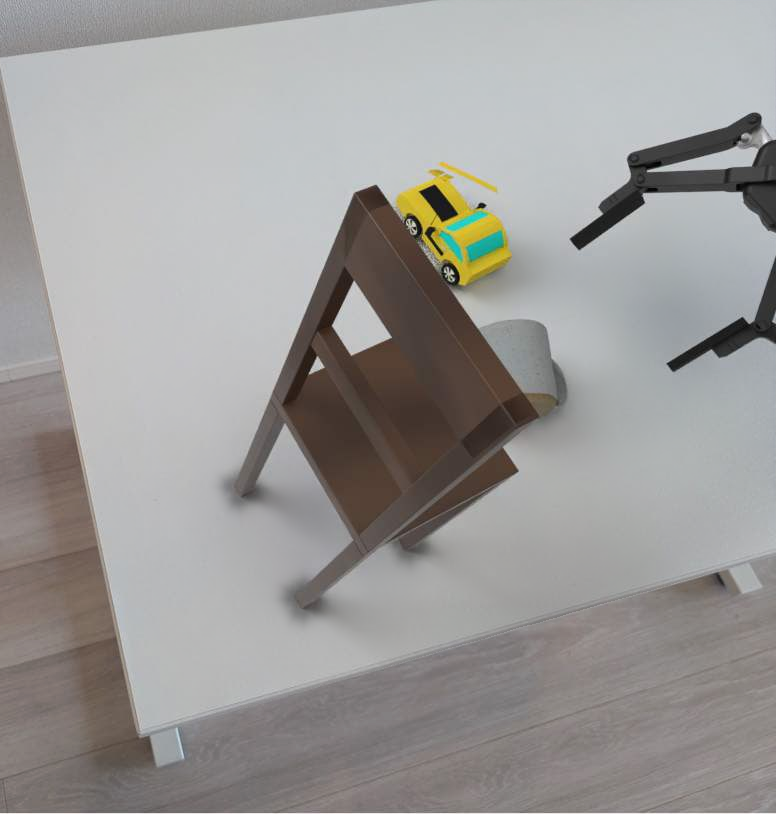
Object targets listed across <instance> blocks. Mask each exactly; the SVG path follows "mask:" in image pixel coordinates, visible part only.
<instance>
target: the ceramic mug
mask: <svg viewBox="0 0 776 814" xmlns="http://www.w3.org/2000/svg"><path fill="white" fill-rule="evenodd" d="M478 329H479V331H480V332H481V334H482V335H483V336H484V338H485V339H486V341H487V342H488V344H489V345H490V346H491V348H492V349H493V351H494V352H495V353H496V355H497V356H498V358H499V359H500V361H501V362H502V363H503V365H504V366H505V368H506V369H507V371H508V372H509V373H510V375H511V376H512V378H513V379H514V380H515V382H516V383H517V385H518V386H519V388H520V389H521V390H522V392H523V393H524V394H525V396H526V397H527V399H528V400H529V401H530V403H531V404H532V406H533V407H534V409H535V410H536V411H537V413H538V414H539V418H538V419H537V420H540V419H542V418H545V417H546V416H548V415H549V414H551V413H553V412H556V411H559V410H560V409H563V408H564V407H565V405H566V404H567V401H568V396H569V394H568V393H569V391H568V384H567V379H566V377H565V375H564V373H563V371H562V368H561V367H560V366H559V364H558V363H557V362H556V361H555V360H554V359H553V358H552V351H551V345H550V339H549V333H548V329H547V327H546V326H545V325H544V324H543V323H542V322H539V321H537V320H533V319H526V318H525V319H524V318H515V319H505V320H499V321H494V322H491V323H488V324H486V325H483V326H481V327H478Z"/></svg>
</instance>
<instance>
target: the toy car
mask: <svg viewBox="0 0 776 814" xmlns="http://www.w3.org/2000/svg"><path fill="white" fill-rule="evenodd" d="M437 165H438V166H440V167H442V168H445V169H447V170H448V171H450V172H452V173H455V174H457V175H460V176H462V177H463V178H465V179H467V180H470V181H472V182H474V183H476V184H477V185H480V186H482V187H484V188H486V189H488V190H490V191H491V192H494V193H496V194H499V191H498V187H497V186H494V185H492V184H490V183H488V182H486V181H484V180H483V179H480V178H478V177H476V176H474V175H472V174H470V173H467V172H465V171H463V170H461V169H459V168H456V167H455V166H453V165H451V164H448V163H446V162H444V161H441V162H438V163H437ZM426 173H429V174H430V175H432V176H434V177H435V178H432V179H430V180H427V181H425V182H423V183H421V184H419V185H416V186H414V187H412V188H409V189H407V190H405V191H402V192H401V193H398V195H397V197H396V199H395V203H396V207H397V208H398V210H399V211H400V212H401V214H402V215H403V216H404V217H405V218H404V221H403V223H404V224H405V226H406V227H407V229H408V230H409V231H410V233H411V234H412V236H413V237H414V238H415V239H416V238H419V237H420V236H421V235H422V236H421V239H422V240H423V242H424V243H425V244H426V245H427V247H428V248H429V250H430V251H431V252H432V253H433V254H434V256H435V257H436V258H437V259H438V261H439V262H440V263H441V264H442V263H444V262H445V263H444V264H442V265H441V271H440V272H441V277H442V278H443V280H444V281H445V283H446V284H447V285H448V286H449V285H450V286H456V285H460V286H467V285H468V284H471V283H473V282H474V281H477V280H478V279H481V278H482V277H485V276H486V275H488V274H491V273H492V272H494V271H496V270H498V269H500V268H502V267H504V266H506V265H507V264H508V262H509V261H510V260H511V259H512V258H513V255H512V252H511V250H510V247H509V241H508V235H507V232H506V230H505V227H504V225H503V222H502V220H501V219H499V217H498V216H497V215H494V213H492V212H491V211H488V210H486V209H485V208H486V207H487V204H486V203H484V202H479V203H478V204H477V206H476V207H475V208H474V209H472V208H470V206H469V204H468V203H467V201H466V200H465V199H464V197H463V196H462V195H461V194H460V192H459V191H458V189H456V187H455V186H454V185H453V183H451V182H450V180H452V179H454V178H455V176H453V175H450V174H447V173H446V172H445V171H443V170H440V169H430V170H428V171H426ZM447 261H448V262H447Z"/></svg>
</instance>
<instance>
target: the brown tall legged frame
mask: <svg viewBox="0 0 776 814" xmlns="http://www.w3.org/2000/svg"><path fill="white" fill-rule="evenodd" d="M354 283H355V284H356V286H357V287H358V289H359V290H360V292H361V293H362V295H363V297H364V298H365V299H366V301H367V302H368V304H369V305H370V307H371V309H372V310H373V311H374V313H375V314H376V316H377V318H378V319H379V320H380V322H381V324H382V325H383V326H384V327H385V329H386V331H387V333H388V334H389V335H390V338H388V339H386V340H383V341H380V342H379V343H376V344H375V345H372V346H370V347H368V348H365V349H363V350H361V351H358V352H357V353H354V354H352V355H351V353H350V351H349V350H348V348H347V347H346V345H345V344H344V342H343V340H342V339H341V338H340V336H339V334H338V333H337V331H336V329H335V328H334V326H333V325H334V323H335V321H336V319H337V318H338V314H339V312H340V310H341V309H342V306H343V304H344V303H345V300H346V298H347V296H348V294H349V292H350V290H351V288H352V287H353V286H352V285H353V284H354ZM317 358H318V359H319V361H320V362H321V364H322V366H323V367H322V368H320V369H318V370H315V371H314V372H312V373H311V371H312V368H313V366H314V364H315V363H316V360H317ZM538 418H539V414H538V413H537V411H536V410H535V409H534V407H533V406H532V404H531V403H530V401H529V400H528V399H527V397H526V396H525V394H524V393H523V392H522V390H521V389H520V388H519V386H518V385H517V383H516V382H515V380H514V379H513V378H512V376H511V375H510V373H509V372H508V371H507V369H506V368H505V366H504V365H503V363H502V362H501V361H500V359H499V358H498V356H497V355H496V353H495V352H494V351H493V349H492V348H491V346H490V345H489V344H488V342H487V341H486V339H485V338H484V336H483V335H482V334H481V332H480V331H479V327H478V326H477V325H476V323H475V322H474V321H473V319H472V318H471V317H470V315H469V314H468V312H467V311H466V310H465V308H464V306H463V305H462V303H461V302H460V301H459V300H458V298H457V297H456V295H455V294H454V292H453V291H452V290H451V288H450V287H449V284H448V283H447V282H446V281H445V280H444V279H443V276H442V274H440V272H439V271H438V270H437V268H436V267H435V265H434V264H433V263H432V261H431V260H430V258H429V257H428V255H427V254H426V253H425V251H424V250H423V249H422V247H421V245H420V244H419V243H418V241H417V240H416V238H414V237H413V236H412V234H411V233H410V231H409V230H408V229H407V227H406V226H405V224H404V221H403V220H402V219H401V217H400V216H399V214H398V213H397V211H396V210H395V209H394V207H393V206H392V204H391V203H390V201H389V199H388V198H387V197H386V196H385V194H384V193H383V191H382V190H381V188H380V187H379V186H378V184H373V185H371V186H368V187H365V188H363V189H360V190H357V191H355V192H353V195H352V197H351V199H350V202H349V204H348V206H347V209H346V212H345V214H344V216H343V219H342V221H341V224H340V225H339V229H338V231H337V233H336V236H335V238H334V241H333V243H332V245H331V248H330V251H329V253H328V255H327V258H326V260H325V262H324V265H323V267H322V270H321V273H320V275H319V278H318V280H317V282H316V285H315V287H314V290H313V292H312V295H311V297H310V300H309V302H308V304H307V306H306V309H305V312H304V314H303V317H302V319H301V322H300V324H299V326H298V329H297V332H296V334H295V336H294V339H293V341H292V344H291V345H290V349H289V351H288V353H287V355H286V358H285V361H284V362H283V366H282V368H281V370H280V372H279V375H278V378H277V380H276V382H275V386H274V388H273V389H272V391H271V395H270V398H269V399H268V403H267V405H266V407H265V409H264V413H263V415H262V417H261V419H260V421H259V424H258V427H257V429H256V432H255V434H254V437H253V439H252V442H251V444H250V446H249V449H248V451H247V453H246V456H245V459H244V461H243V463H242V466H241V469H240V471H239V473H238V476H237V478H236V481H235V483H234V488H235V490H236V492H237V494H238V495H239V497H244V496H245V495H246V496H247V495H248V494H250V493H252V492H253V490H254V488H255V485H256V483H257V482H258V480H259V477H260V475H261V473H262V471H263V469H264V467H265V466H266V463H267V461H268V459H269V457H270V455H271V453H272V451H273V449H274V446H275V444H276V442H277V440H278V438H279V437H280V434H281V432H282V430H283V428H284V426H286V428H287V429H288V431H289V432H290V435H291V436H292V438H293V439H294V441H295V443H296V445H297V446H298V448H299V449H300V451H301V452H302V455H303V456H304V458H305V460H306V462H307V463H308V465H309V467H310V469H311V470H312V472H313V474H314V475H315V477H316V479H317V480H318V482H319V484H320V486H321V487H322V489H323V490H324V493H325V494H326V496H327V498H328V500H329V501H330V503H331V504H332V506H333V507H334V509H335V511H336V513H337V514H338V516H339V518H340V519H341V522H342V523H343V524H344V526H345V528H346V529H347V531H348V534H349V535H350V536H351V538H352V541H351V542H350V543H349V544H348V545H347V546H346V547H344V548H343V549H342V550H341V551H340V552H339V553H337V555H336V556H335V557H334V558H333V559H331V561H330V562H329V563H327V565H325V566H324V567H323V568H322V569H321V570H320V571H319V572H318V573H317V574H316V575H315V576H314V577H313V578H312V579H310V580H309V581H308V583H307V584H305V586H302V588H301V589H300V590H299V591H298V592H297V593H296V594H295V595H294V598H295V599H296V601H297V603H298V605H299V607H300V609H305V607H307V606H309V605H311V604H312V603H315V602H316V601H317V600H318V599H319V598H321V596H322V595H324V594H325V593H326V592H328V591H329V590H330V589H331V588H332V587H335V585H336V584H338V583H339V582H340V581H341V580H342V579H344V578H345V577H346V576H347V575H349V574H350V573H351V572H352V571H353V570H354V569H356V568H357V567H358V566H360V565H361V564H362V563H363V562H364V561H365V560H367V559H368V558H369V557H371V556H372V555H373V554H374V553H376V551H378V550H379V549H381V548H383V547H385V546H386V545H388V544H390V543H392V542H394V541H396V540H398V541H399V542H400V544H401V546H402V547H403V549H404V551H405V552H408V551H410V550H411V549H413V548H415V547H417V546H418V545H419V544H421V543H422V542H424V541H425V540H426V539H428V538H429V537H430V536H432V535H433V534H435V533H436V532H437V531H439V530H440V529H442V528H443V527H445V526H446V525H448V523H450V522H451V521H453V520H455V519H456V518H457V517H459V516H460V515H461V514H463V512H465V511H466V510H468V509H470V508H471V507H472V506H474V505H475V504H476V503H478V502H479V501H481V500H482V499H483V498H484V497H486V496H487V495H489V494H490V493H491V492H493V491H495V490H496V489H498V487H500V486H501V485H503V484H504V483H505V482H507V481H508V480H510V479H511V478H512V477H514V476H515V475H516V474H518V473H519V472H520V471H519V469H518V467H517V465H516V464H515V463H514V462H513V460H512V458H511V457H510V455H509V454H508V452H507V451H506V450H505V448H504V447H505V446H506V445H507V444H509V442H511V441H512V440H514V439H515V438H516V437H517V436H518V435H520V434H521V433H522V432H523V431H524V430H526V429H527V428H528V427H530V425H532V424H534V422H535V421H537V420H539V419H540V418H539V419H538Z"/></svg>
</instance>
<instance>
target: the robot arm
mask: <svg viewBox="0 0 776 814" xmlns="http://www.w3.org/2000/svg"><path fill="white" fill-rule="evenodd" d="M762 121H763V117H762V115H761V114H760V113H759V112H756V111H755V112H750V113H748V114H747V115H745V116H743V117H741V118H740V119H738V120H736V121H734V122H733V123H731V124H729V125H728V126H725V127H721V128H718V129H714V130H710V131H707V132H703V133H699V134H695V135H692V136H688V137H684V138H680V139H677V140H673V141H669V142H666V143H661V144H658V145H654V146H651V147H647V148H643V149H639V150H636V151H632V152H630V153H629V154H628V155H627V158H626V162H627V166H628V169H629V173H630V178H629V179H628V181H627V182H626V183H625V184H623V185H622V186H620V188H618V189H617V190H615V191H613V192H612V193H611V194H610V195H608V196H607V197H606V198H604V199H603V200H602V201H601V202H600V203H599V205H598V206H597V208H598V209H599V211H600V212H601V213H602V214H601V215H600V216H598V217H597V218H596V219H594V220H592V222H590V223H589V224H587V225H586V226H584V227H583V228H581V230H579V231H577V233H575V234H574V235H572V236H571V237H569V241H570V242H571V243H572V245H574V247H575V248H576V249H577V250H578V251H581V250H582V249H584V248H585V247H587V246H588V245H589V244H590V243H592V242H593V241H595V240H596V239H598V238H599V237H600V236H602V235H603V234H605V233H606V232H608V231H609V230H610V229H612V228H613V227H615V225H617V224H619V223H620V222H621V221H623V220H624V219H625V218H627V217H628V216H630V215H631V214H633V213H634V212H635V211H637V210H638V209H640V208H641V207H643V206H644V205H645V204H646V201H645V198H644V194H667V193H668V194H671V193H706V192H707V193H709V192H712V193H713V192H725V193H742V194H741V195H742V196H741V197H742V201H743V204H744V205H745V207H747V209H748V210H749V211H751V212H752V213H754V214H756V215H757V216H758V218H759V221H760V222H761V224H762V226H763V227H764V228H765V229H766V231H767V232H772V233H774V234H776V139H773V138H772V136H771V135H770V133H769V132H768V131H767V129H766V128H765V126H764V125H763V123H762ZM736 147H737V148H738V149H740V150H746V149H751V148H755V149H757V152H756V155H755V157H754V160H753V161H752V162H753V163H752V164H751V166H732V167H731V166H730V167H727V168H719V169H694V170H693V169H692V170H691V169H690V170H668V171H652V170H654V169H659V168H662V167H667V166H671V165H675V164H679V163H682V162H686V161H690V160H695V159H698V158H703V157H706V156H711V155H715V154H718V153H723V152H725V151H729V150H731V149H734V148H736ZM775 314H776V256H774V260H773V263H772V266H771V269H770V271H769V274H768V278H767V280H766V284H765V287H764V290H763V292H762V296H761V299H760V301H759V305H758V307H757V311H756V313H755V316H754V320H753V321H752V322H750V323H749V322H748V321H747V320H746V318H745V317H744V316H741V317H739V318H737V319H736V320H735V321H733V322H731V323H730V324H727V325H726V326H724V327H723V328H722V329H720V330H718V331H717V332H715V333H713V334H712V335H710V336H708V337H707V338H705V339H704V340H702V341H700V342H699V343H697V344H696V345H694V346H693V347H690V348H689V349H687V350H686V351H684V352H683V353H680V354H679V355H677V356H676V357H674V358H673V359H671V360H669V361H668V362H666V364H665V365H666V366H667V367H668V368H669V369H670V370H671V372H672V373H675V372H677V371H679V370H680V369H682V368H684V367H685V366H686V365H688V364H690V363H692V362H693V361H695V360H697V359H698V358H700V357H702V356H703V355H704V354H706V353H708V352H710V351H712V352H713V354H715V355H716V357H717V358H718V359H721V358H726V357H728V356H730V355H731V354H734V353H735V352H736V351H739V350H740V349H741V348H743V347H745V346H747V345H748V344H750V343H752V342H753V341H755V340H758V339H765V340H767V341H769V342H770V343H772V344H774V345H776V323H775V322H774V318H775V316H776V315H775Z"/></svg>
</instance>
